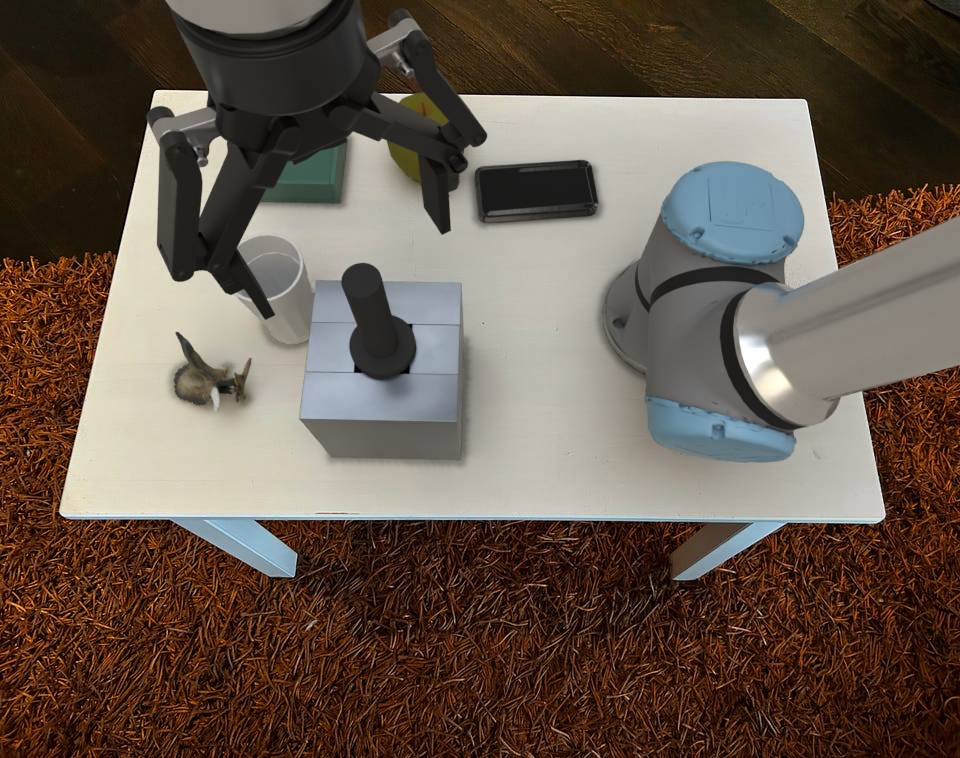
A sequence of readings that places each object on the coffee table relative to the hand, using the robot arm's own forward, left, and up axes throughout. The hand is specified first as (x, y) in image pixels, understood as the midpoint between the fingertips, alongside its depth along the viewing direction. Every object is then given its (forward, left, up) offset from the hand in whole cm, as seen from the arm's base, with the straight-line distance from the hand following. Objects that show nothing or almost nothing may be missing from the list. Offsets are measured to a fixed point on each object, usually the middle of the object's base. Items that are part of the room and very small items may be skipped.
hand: (352, 259), depth 46 cm
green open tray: (+28, -20, -29) cm, 45 cm away
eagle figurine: (+19, +9, -30) cm, 36 cm away
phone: (0, -32, -29) cm, 43 cm away
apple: (+14, -29, -30) cm, 44 cm away
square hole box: (0, 0, -29) cm, 29 cm away
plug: (0, 0, -18) cm, 18 cm away
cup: (+16, -2, -30) cm, 34 cm away
